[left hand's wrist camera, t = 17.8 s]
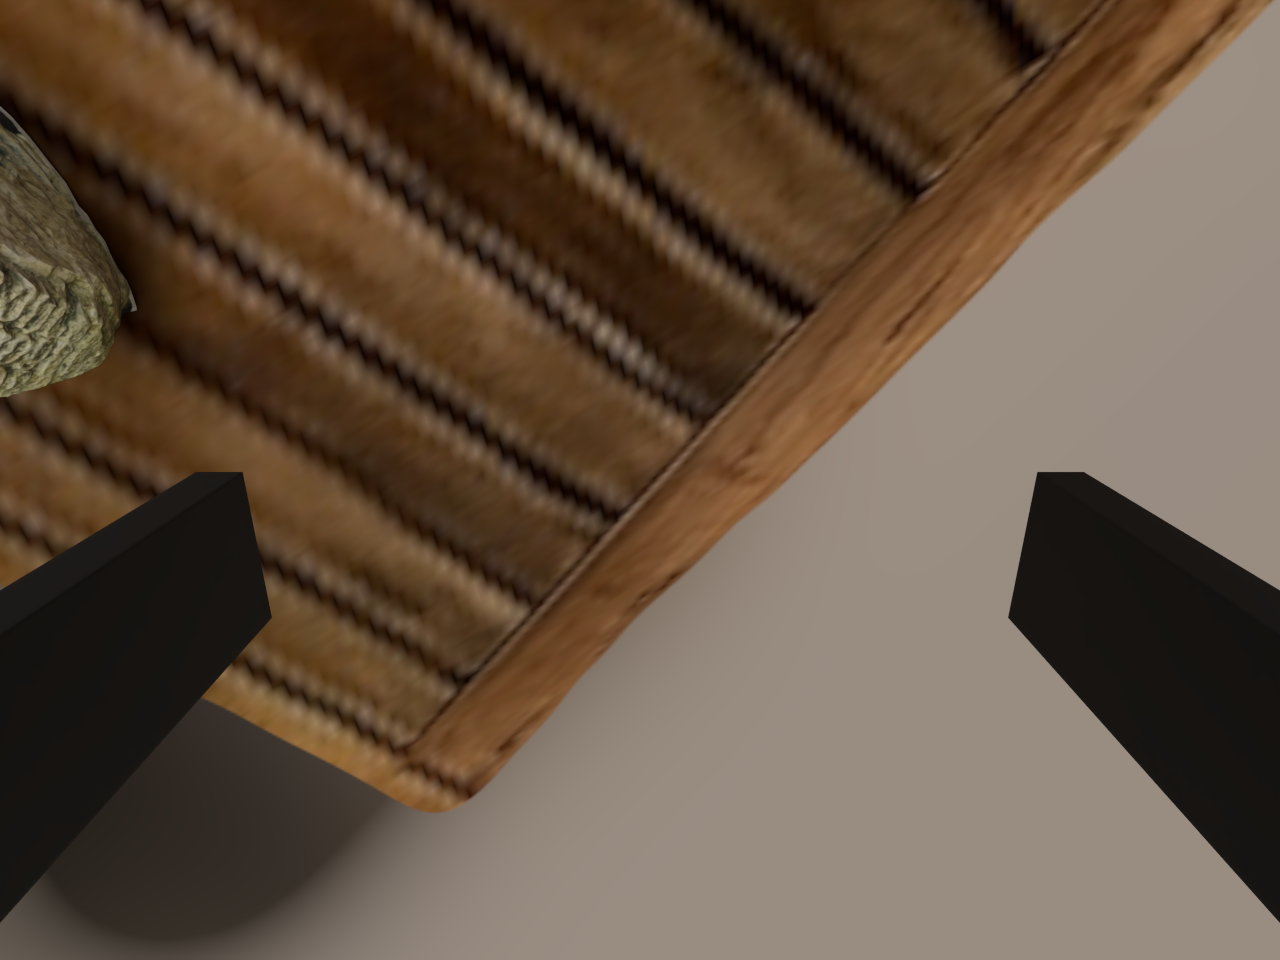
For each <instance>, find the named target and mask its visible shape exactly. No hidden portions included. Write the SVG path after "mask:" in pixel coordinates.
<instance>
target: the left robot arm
mask: <svg viewBox="0 0 1280 960" xmlns="http://www.w3.org/2000/svg"><path fill="white" fill-rule="evenodd" d="M271 618H272V616H271V611H270V606H269V601H268V596H267V591H266V586H265V581H264V577H263V572H262V567H261V562H260V557H259V552H258V547H257V542H256V537H255V532H254V527H253V522H252V517H251V512H250V507H249V502H248V497H247V492H246V487H245V482H244V477H243V472H196V473H194V474H192V475H191V476H189V477H187V478H186V479H184V480H182V481H181V482H179V483H177V484H176V485H174V486H172V487H171V488H169V489H167V490H166V491H164V492H162V493H161V494H159V495H157V496H156V497H154V498H152V499H151V500H149V501H148V502H146V503H144V504H143V505H141V506H139V507H138V508H136V509H134V510H133V511H131V512H129V513H128V514H126V515H124V516H123V517H121V518H119V519H118V520H116V521H114V522H113V523H111V524H109V525H108V526H106V527H104V528H103V529H101V530H100V531H98V532H96V533H95V534H93V535H91V536H90V537H88V538H86V539H85V540H83V541H81V542H80V543H78V544H76V545H75V546H73V547H71V548H70V549H68V550H66V551H65V552H63V553H61V554H60V555H58V556H56V557H55V558H53V559H52V560H50V561H48V562H47V563H45V564H43V565H42V566H40V567H38V568H37V569H35V570H33V571H32V572H30V573H28V574H27V575H25V576H23V577H22V578H20V579H18V580H17V581H15V582H13V583H12V584H10V585H8V586H7V587H5V588H4V589H2V590H0V922H1V921H2V920H3V919H4V918H5V917H6V915H7V914H8V913H9V912H10V911H11V910H12V909H13V908H14V906H15V905H16V904H17V903H18V902H19V901H20V900H21V899H22V898H23V896H24V895H25V894H26V893H27V892H28V891H29V890H30V889H31V887H32V886H33V885H34V884H35V883H36V882H37V881H38V879H39V878H40V877H41V876H42V875H43V874H44V873H45V872H46V871H47V869H48V868H49V867H50V866H51V865H52V864H53V863H54V862H55V861H56V859H57V858H58V857H59V856H60V855H61V854H62V853H63V852H64V850H65V849H66V848H67V847H68V846H69V845H70V844H71V842H72V841H73V840H74V839H75V838H76V837H77V836H78V835H79V834H80V832H81V831H82V830H83V829H84V828H85V827H86V826H87V825H88V823H89V822H90V821H91V820H92V819H93V818H94V817H95V816H96V814H97V813H98V812H99V811H100V810H101V809H102V808H103V807H104V805H105V804H106V803H107V802H108V801H109V800H110V799H111V798H112V796H113V795H114V794H115V793H116V792H117V791H118V790H119V789H120V787H121V786H122V785H123V784H124V783H125V782H126V781H127V780H128V779H129V777H130V776H131V775H132V774H133V773H134V772H135V771H136V770H137V768H138V767H139V766H140V765H141V764H142V763H143V762H144V761H145V759H146V758H147V757H148V756H149V755H150V754H151V753H152V752H153V750H154V749H155V748H156V747H157V746H158V745H159V744H160V743H161V741H162V740H163V739H164V738H165V737H166V736H167V735H168V734H169V732H170V731H171V730H172V729H173V728H174V727H175V726H176V725H177V723H178V722H179V721H180V720H181V719H182V718H183V717H184V716H185V714H186V713H187V712H188V711H189V710H190V709H191V708H192V707H193V706H194V704H195V703H196V702H197V701H198V700H199V699H200V698H201V697H202V695H203V694H204V693H205V692H206V691H207V690H208V689H209V688H210V686H211V685H212V684H213V683H214V682H215V681H216V680H217V679H218V677H219V676H220V675H221V674H222V673H223V672H224V671H225V670H226V668H227V667H228V666H229V665H230V664H231V663H232V662H233V661H234V659H235V658H236V657H237V656H238V655H239V654H240V653H241V652H242V650H243V649H244V648H245V647H246V646H247V645H248V644H249V643H250V641H251V640H252V639H253V638H254V637H255V636H256V635H257V634H258V633H259V631H260V630H261V629H262V628H263V627H264V626H265V625H266V624H267V622H268V621H269V620H270V619H271ZM1008 618H1009V619H1010V620H1011V621H1012V622H1013V623H1014V625H1015V626H1016V627H1017V628H1018V629H1019V630H1020V631H1021V632H1022V634H1023V635H1024V636H1025V637H1026V638H1027V639H1028V640H1029V641H1030V643H1031V644H1032V645H1033V646H1034V647H1035V648H1036V649H1037V650H1038V652H1039V653H1040V654H1041V655H1042V656H1043V657H1044V658H1045V659H1046V661H1047V662H1048V663H1049V664H1050V665H1051V666H1052V667H1053V668H1054V670H1055V671H1056V672H1057V673H1058V674H1059V675H1060V676H1061V677H1062V679H1063V680H1064V681H1065V682H1066V683H1067V684H1068V685H1069V686H1070V688H1071V689H1072V690H1073V691H1074V692H1075V693H1076V694H1077V695H1078V696H1079V698H1080V699H1081V700H1082V701H1083V702H1084V703H1085V704H1086V706H1087V707H1088V708H1089V709H1090V710H1091V711H1092V712H1093V713H1094V714H1095V716H1096V717H1097V718H1098V719H1099V720H1100V721H1101V722H1102V723H1103V725H1104V726H1105V727H1106V728H1107V729H1108V730H1109V731H1110V732H1111V734H1112V735H1113V736H1114V737H1115V738H1116V739H1117V740H1118V741H1119V743H1120V744H1121V745H1122V746H1123V747H1124V748H1125V749H1126V750H1127V752H1128V753H1129V754H1130V755H1131V756H1132V757H1133V758H1134V759H1135V761H1136V762H1137V763H1138V764H1139V765H1140V766H1141V767H1142V768H1143V770H1144V771H1145V772H1146V773H1147V774H1148V775H1149V776H1150V777H1151V778H1152V780H1153V781H1154V782H1155V783H1156V784H1157V785H1158V786H1159V788H1160V789H1161V790H1162V791H1163V792H1164V793H1165V794H1166V795H1167V796H1168V798H1169V799H1170V800H1171V801H1172V802H1173V803H1174V804H1175V805H1176V807H1177V808H1178V809H1179V810H1180V811H1181V812H1182V813H1183V814H1184V816H1185V817H1186V818H1187V819H1188V820H1189V821H1190V822H1191V823H1192V825H1193V826H1194V827H1195V828H1196V829H1197V830H1198V831H1199V832H1200V834H1201V835H1202V836H1203V837H1204V838H1205V839H1206V840H1207V841H1208V843H1209V844H1210V845H1211V846H1212V847H1213V848H1214V849H1215V850H1216V852H1217V853H1218V854H1219V855H1220V856H1221V857H1222V858H1223V859H1224V861H1225V862H1226V863H1227V864H1228V865H1229V866H1230V867H1231V868H1232V869H1233V871H1234V872H1235V873H1236V874H1237V875H1238V876H1239V877H1240V878H1241V880H1242V881H1243V882H1244V883H1245V884H1246V885H1247V886H1248V887H1249V889H1250V890H1251V891H1252V892H1253V893H1254V894H1255V895H1256V896H1257V898H1258V899H1259V900H1260V901H1261V902H1262V903H1263V904H1264V905H1265V907H1266V908H1267V909H1268V910H1269V911H1270V912H1271V913H1272V914H1273V916H1274V917H1275V918H1276V919H1277V920H1278V921H1279V922H1280V590H1278V589H1276V588H1275V587H1273V586H1271V585H1270V584H1268V583H1267V582H1265V581H1263V580H1262V579H1260V578H1258V577H1257V576H1255V575H1253V574H1252V573H1250V572H1248V571H1247V570H1245V569H1243V568H1242V567H1240V566H1238V565H1237V564H1235V563H1233V562H1232V561H1230V560H1228V559H1227V558H1225V557H1223V556H1222V555H1220V554H1219V553H1217V552H1215V551H1214V550H1212V549H1210V548H1209V547H1207V546H1205V545H1204V544H1202V543H1200V542H1199V541H1197V540H1195V539H1194V538H1192V537H1190V536H1189V535H1187V534H1185V533H1184V532H1182V531H1180V530H1179V529H1177V528H1175V527H1174V526H1172V525H1171V524H1169V523H1167V522H1166V521H1164V520H1162V519H1161V518H1159V517H1157V516H1156V515H1154V514H1152V513H1151V512H1149V511H1147V510H1146V509H1144V508H1142V507H1141V506H1139V505H1137V504H1136V503H1134V502H1132V501H1131V500H1129V499H1127V498H1126V497H1124V496H1123V495H1121V494H1119V493H1117V492H1116V491H1114V490H1113V489H1111V488H1109V487H1108V486H1106V485H1104V484H1103V483H1101V482H1099V481H1098V480H1096V479H1094V478H1093V477H1091V476H1089V475H1088V474H1086V473H1084V472H1038V473H1037V477H1036V482H1035V487H1034V492H1033V497H1032V502H1031V507H1030V512H1029V517H1028V522H1027V527H1026V532H1025V537H1024V542H1023V547H1022V552H1021V557H1020V562H1019V567H1018V572H1017V577H1016V581H1015V587H1014V591H1013V596H1012V601H1011V606H1010V612H1009V616H1008Z"/></svg>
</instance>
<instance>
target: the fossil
mask: <svg viewBox="0 0 1280 960" xmlns="http://www.w3.org/2000/svg"><path fill="white" fill-rule="evenodd" d="M136 310H137V309H136V304H135V301H134V298H133V295H132V292H131V290H130V287H129V285H128V282H127V280H126V279H125V277H124V276H123V275H122V274H121V272H120V271H119V269H118V267H117V265H116V264H115V262H114V260H113V258H112V256H111V254H110V252H109V249H108V247H107V245H106V242H105V240H104V239H103V238H102V237H101V235H100V234H99V233H98V232H97V230H96V229H95V227H94V225H93V224H92V222H91V220H90V218H89V217H88V215H87V214H86V213H85V212H84V211H83V210H82V209H81V208H80V207H79V206H78V204H77V202H76V200H75V198H74V197H73V195H72V193H71V191H70V189H69V188H68V186H67V184H66V183H65V181H64V180H63V179H62V177H61V176H60V175H59V174H58V172H57V171H56V170H55V169H54V167H53V166H52V165H51V164H50V162H49V161H48V160H47V159H46V157H45V156H44V155H43V154H42V152H41V151H40V150H39V148H38V147H37V146H36V145H35V143H34V142H33V141H32V140H31V138H30V137H29V136H28V135H27V134H26V133H25V131H24V130H23V129H22V128H21V127H20V126H19V125H18V124H17V122H16V121H15V120H14V119H13V118H12V117H11V116H10V115H9V114H8V113H7V112H6V111H5V110H4V109H3V108H2V107H1V106H0V397H8V396H10V395H12V394H19V393H20V392H22V391H28V390H35V389H38V388H41V387H44V386H47V385H50V384H53V383H56V382H59V381H63V380H67V379H70V378H73V377H76V376H78V375H81V374H84V373H85V372H87V371H89V370H91V369H93V368H95V367H98V366H100V365H101V364H102V363H103V362H104V360H105V358H106V356H107V354H108V353H109V351H110V349H111V347H112V346H113V344H114V342H115V333H116V331H117V329H118V328H119V326H120V317H121V316H122V315H123V314H124V313H128V312H132V311H136Z"/></svg>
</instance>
